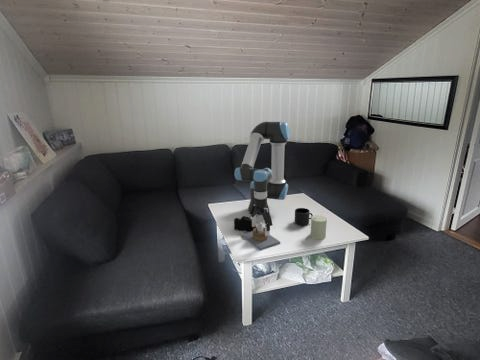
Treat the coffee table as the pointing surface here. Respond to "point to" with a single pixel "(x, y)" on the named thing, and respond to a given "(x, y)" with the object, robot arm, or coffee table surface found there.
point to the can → (318, 227)
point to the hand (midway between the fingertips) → (260, 230)
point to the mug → (302, 216)
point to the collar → (259, 235)
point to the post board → (260, 244)
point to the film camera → (243, 224)
